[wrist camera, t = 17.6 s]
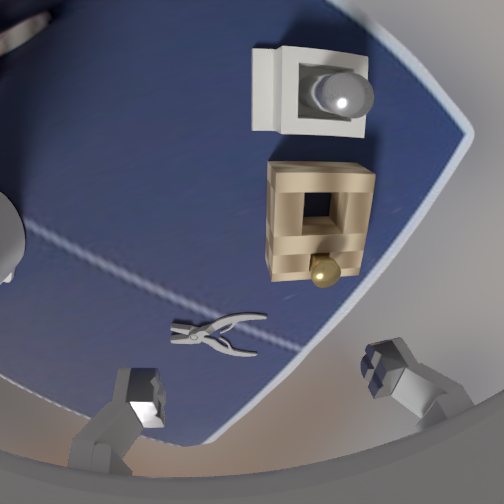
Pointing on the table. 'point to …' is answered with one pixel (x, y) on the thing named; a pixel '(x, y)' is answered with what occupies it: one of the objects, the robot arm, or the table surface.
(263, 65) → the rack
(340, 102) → the grey rounded cylinder
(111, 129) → the table surface
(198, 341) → the pliers
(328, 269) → the key
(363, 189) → the socket block
